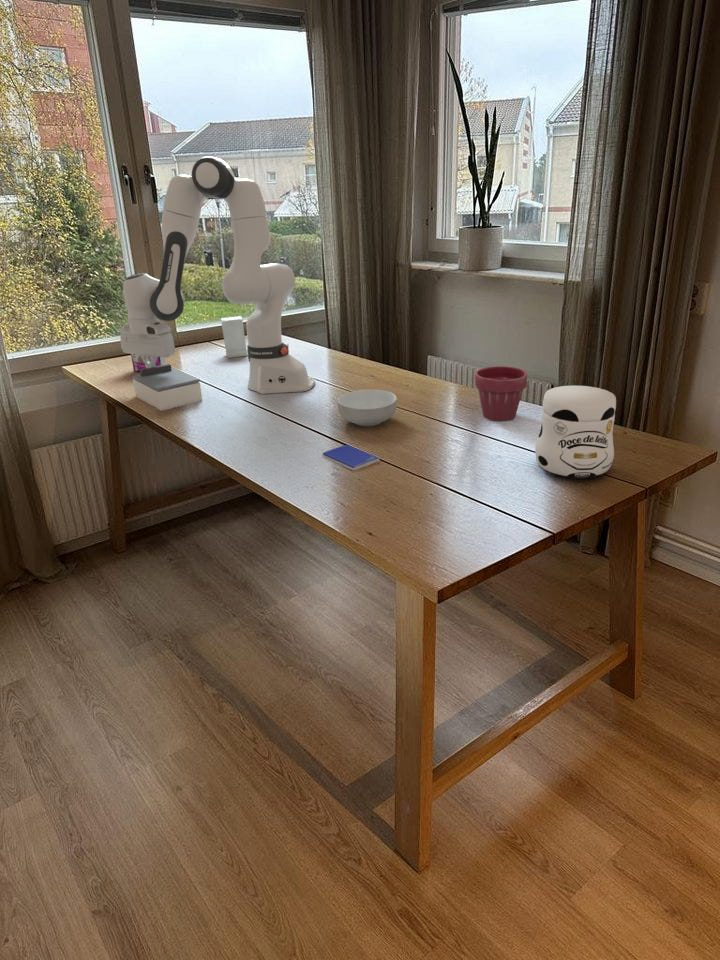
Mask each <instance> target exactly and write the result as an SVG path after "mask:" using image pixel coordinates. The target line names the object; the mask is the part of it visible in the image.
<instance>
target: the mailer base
mask: <svg viewBox="0 0 720 960" xmlns="http://www.w3.org/2000/svg"><path fill="white" fill-rule="evenodd" d="M132 383H133V387H134V395H135V397H136V398H138V399H140V400H141V401H143V402H144V403H146V404H148V405H150V406H151V407H153V406H154V407H153V408H155V407H156V408H155V409H157V410H158V411H161V412H162V411H166V410H169V409H174V407H175V408H178V406H179V407H182V405H183V406H186V404H187V405H190V403H191V404H194V402H195V403H198V401H199V402H203V395H202V388H201V382H196V383H191V384H187V385H182V386H178V387H174V388H169V389H165V390H160V391H157V390H155V389H153V388H151V387H149V386H147V385H145V384H143V383H141V382H139V381H137V380H135V379H133V378H132Z"/></svg>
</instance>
